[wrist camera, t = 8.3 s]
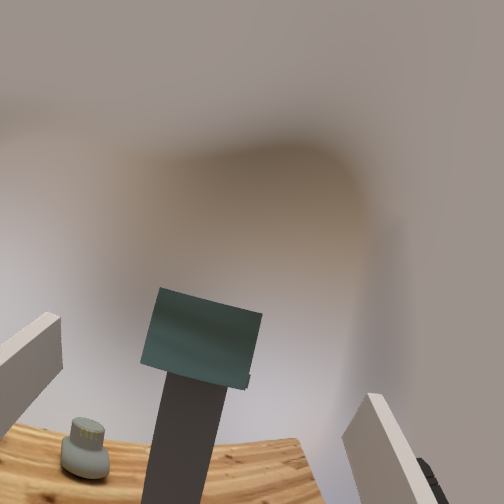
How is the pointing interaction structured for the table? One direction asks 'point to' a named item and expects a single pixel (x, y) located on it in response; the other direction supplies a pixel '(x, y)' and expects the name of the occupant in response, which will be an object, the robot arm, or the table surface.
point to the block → (201, 339)
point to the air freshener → (85, 450)
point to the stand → (183, 440)
